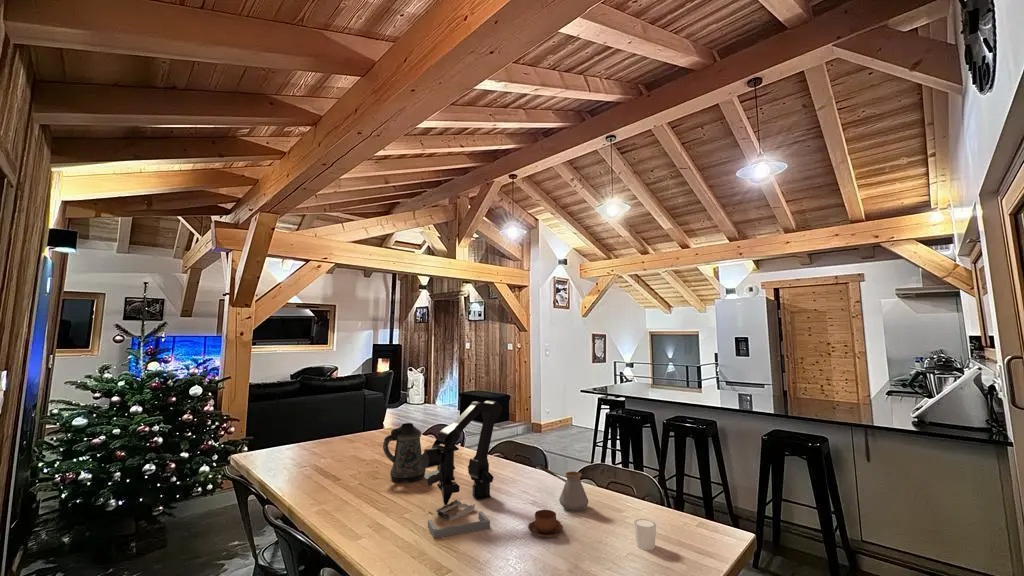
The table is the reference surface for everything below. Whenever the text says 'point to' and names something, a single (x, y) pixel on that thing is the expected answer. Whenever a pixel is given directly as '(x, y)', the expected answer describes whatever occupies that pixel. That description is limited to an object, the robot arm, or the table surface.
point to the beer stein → (405, 454)
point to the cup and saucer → (545, 524)
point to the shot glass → (645, 534)
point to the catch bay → (459, 527)
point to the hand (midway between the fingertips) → (445, 504)
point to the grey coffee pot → (571, 491)
